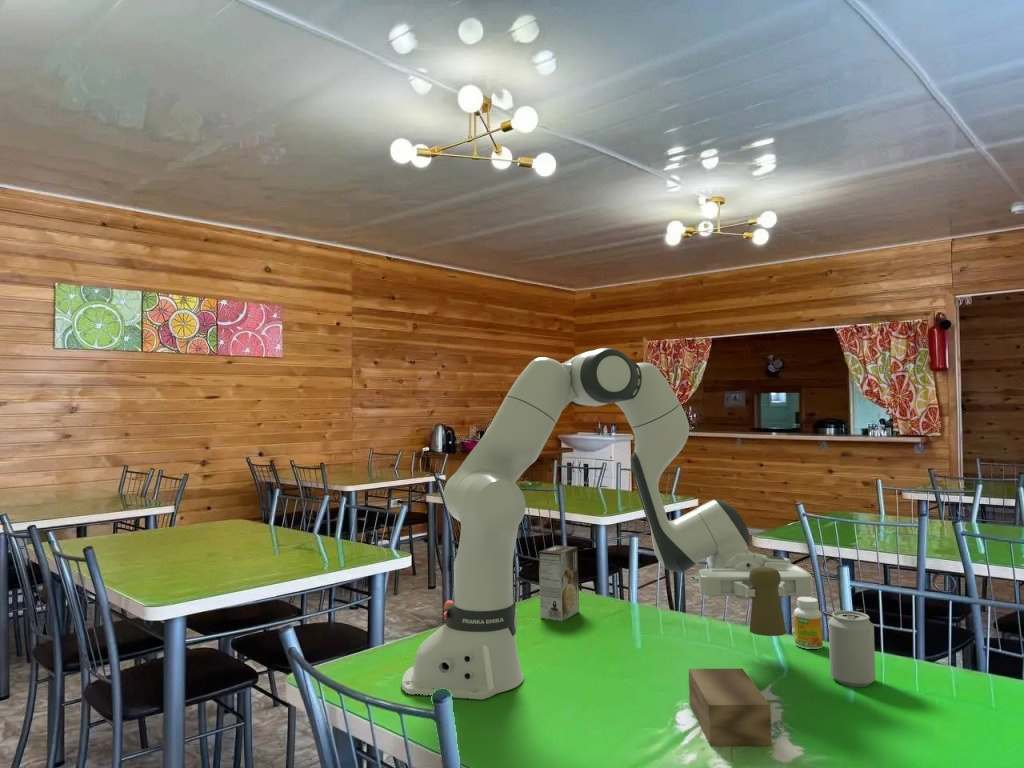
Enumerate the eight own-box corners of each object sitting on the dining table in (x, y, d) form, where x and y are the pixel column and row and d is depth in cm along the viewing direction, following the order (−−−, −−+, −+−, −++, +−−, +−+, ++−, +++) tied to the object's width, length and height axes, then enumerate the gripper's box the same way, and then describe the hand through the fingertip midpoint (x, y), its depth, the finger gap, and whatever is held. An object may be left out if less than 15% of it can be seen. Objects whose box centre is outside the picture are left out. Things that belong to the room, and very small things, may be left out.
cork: (787, 636, 124) (783, 570, 125) (749, 635, 125) (746, 569, 127) (785, 628, 129) (781, 565, 131) (749, 627, 131) (746, 564, 132)
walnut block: (710, 745, 109) (709, 704, 109) (689, 704, 124) (688, 668, 124) (771, 745, 108) (770, 704, 109) (743, 704, 123) (742, 668, 123)
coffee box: (556, 608, 183) (555, 544, 184) (579, 612, 180) (578, 546, 181) (539, 618, 176) (538, 551, 176) (563, 622, 172) (561, 553, 173)
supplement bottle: (794, 649, 150) (793, 601, 151) (795, 641, 155) (793, 594, 156) (823, 651, 148) (821, 603, 149) (822, 643, 153) (821, 596, 154)
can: (875, 676, 135) (872, 610, 135) (876, 691, 128) (873, 621, 128) (830, 670, 138) (828, 606, 138) (829, 684, 131) (827, 617, 131)
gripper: (689, 558, 142) (705, 575, 128) (796, 557, 141) (824, 574, 127) (690, 591, 141) (706, 611, 128) (797, 590, 141) (825, 611, 127)
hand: (766, 593), depth 127 cm, fingers closed on cork, 4 cm apart
